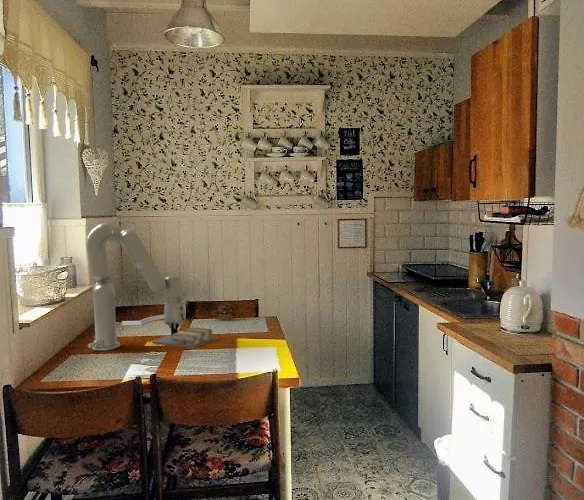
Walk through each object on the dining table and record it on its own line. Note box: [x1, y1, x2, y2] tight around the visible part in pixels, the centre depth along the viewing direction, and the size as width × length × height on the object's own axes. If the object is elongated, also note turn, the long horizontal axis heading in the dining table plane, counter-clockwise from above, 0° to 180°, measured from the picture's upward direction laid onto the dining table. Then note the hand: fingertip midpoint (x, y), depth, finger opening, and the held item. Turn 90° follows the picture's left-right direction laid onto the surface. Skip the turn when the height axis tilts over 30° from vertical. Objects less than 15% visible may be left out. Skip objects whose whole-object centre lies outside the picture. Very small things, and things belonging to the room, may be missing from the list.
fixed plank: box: [182, 327, 213, 346], centre depth 245 cm, size 16×6×4 cm, turn 155°
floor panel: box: [151, 334, 216, 349], centre depth 249 cm, size 18×25×1 cm
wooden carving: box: [210, 302, 238, 321], centre depth 296 cm, size 16×5×10 cm, turn 77°
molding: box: [121, 314, 164, 327], centre depth 301 cm, size 42×12×3 cm, turn 139°
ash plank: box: [172, 326, 202, 345], centre depth 248 cm, size 16×7×4 cm, turn 155°
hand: (174, 336), depth 251 cm, fingers closed
